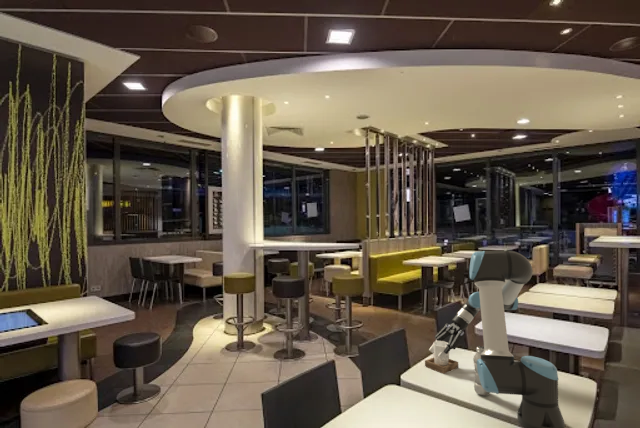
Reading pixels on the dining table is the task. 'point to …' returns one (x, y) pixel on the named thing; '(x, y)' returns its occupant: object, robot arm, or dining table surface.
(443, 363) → the white cup
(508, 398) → the dining table surface
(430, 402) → the dining table surface
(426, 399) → the dining table surface
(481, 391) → the plastic bottle
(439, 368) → the brown wooden tray
